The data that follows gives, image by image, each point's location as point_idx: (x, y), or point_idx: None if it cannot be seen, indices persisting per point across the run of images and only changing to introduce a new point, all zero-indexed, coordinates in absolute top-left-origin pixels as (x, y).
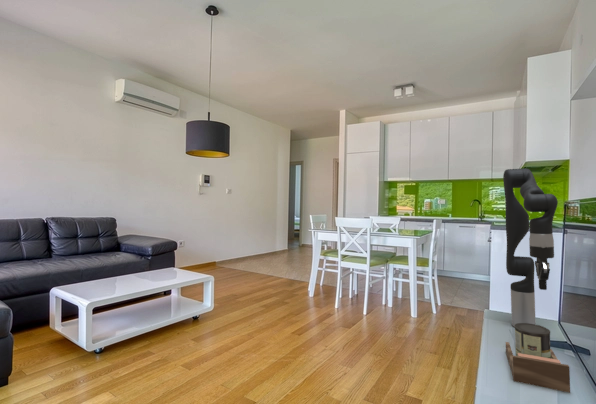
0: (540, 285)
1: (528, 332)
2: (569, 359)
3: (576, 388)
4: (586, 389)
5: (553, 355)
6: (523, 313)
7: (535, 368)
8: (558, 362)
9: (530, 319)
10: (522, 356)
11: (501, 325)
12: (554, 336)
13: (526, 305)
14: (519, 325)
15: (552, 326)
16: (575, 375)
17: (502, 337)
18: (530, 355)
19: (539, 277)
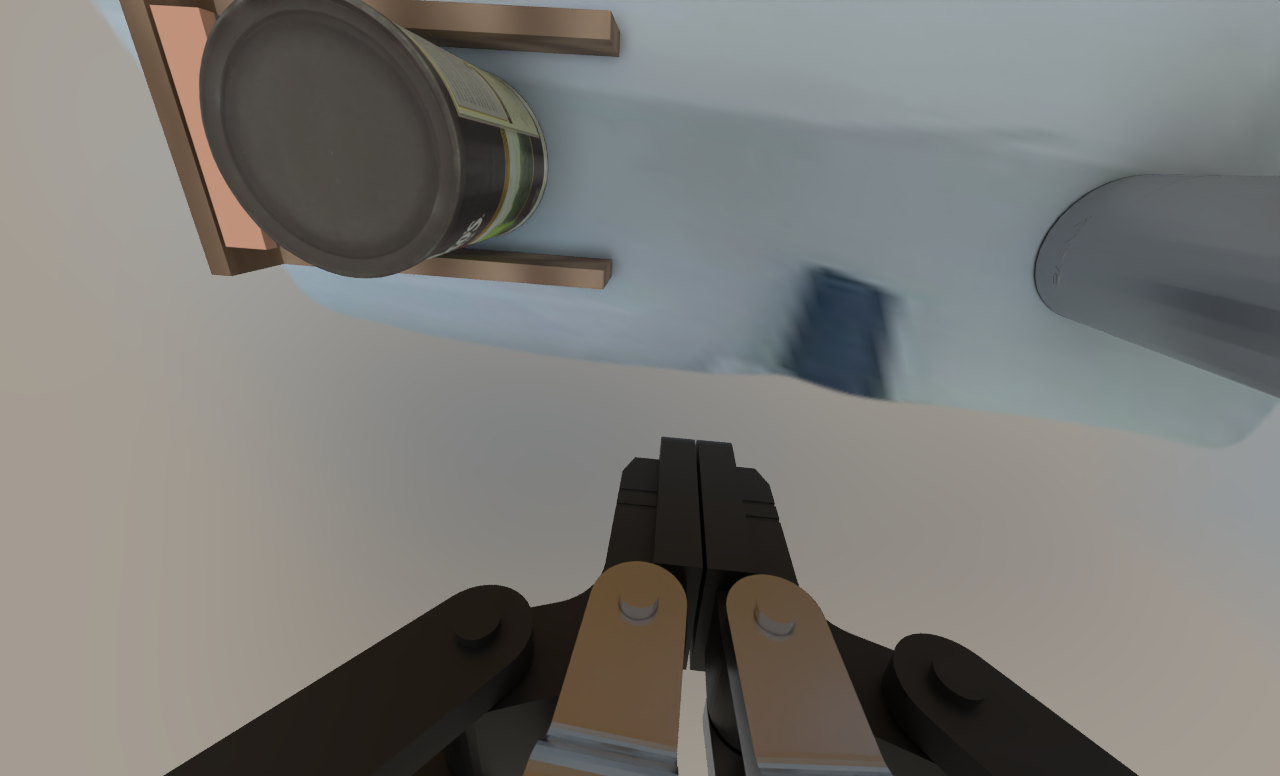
0: (656, 484)
1: (200, 89)
2: (651, 354)
3: (366, 288)
4: (380, 321)
5: (516, 273)
6: (1151, 260)
7: None
8: (229, 236)
9: (1096, 299)
10: (158, 32)
11: (1150, 89)
12: (949, 381)
13: (1218, 304)
14: (355, 44)
15: (1119, 420)
16: (487, 323)
17: (880, 52)
18: None
19: (482, 621)
